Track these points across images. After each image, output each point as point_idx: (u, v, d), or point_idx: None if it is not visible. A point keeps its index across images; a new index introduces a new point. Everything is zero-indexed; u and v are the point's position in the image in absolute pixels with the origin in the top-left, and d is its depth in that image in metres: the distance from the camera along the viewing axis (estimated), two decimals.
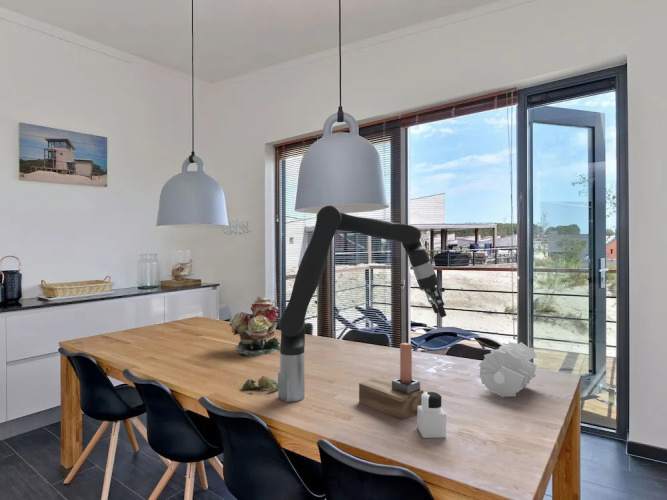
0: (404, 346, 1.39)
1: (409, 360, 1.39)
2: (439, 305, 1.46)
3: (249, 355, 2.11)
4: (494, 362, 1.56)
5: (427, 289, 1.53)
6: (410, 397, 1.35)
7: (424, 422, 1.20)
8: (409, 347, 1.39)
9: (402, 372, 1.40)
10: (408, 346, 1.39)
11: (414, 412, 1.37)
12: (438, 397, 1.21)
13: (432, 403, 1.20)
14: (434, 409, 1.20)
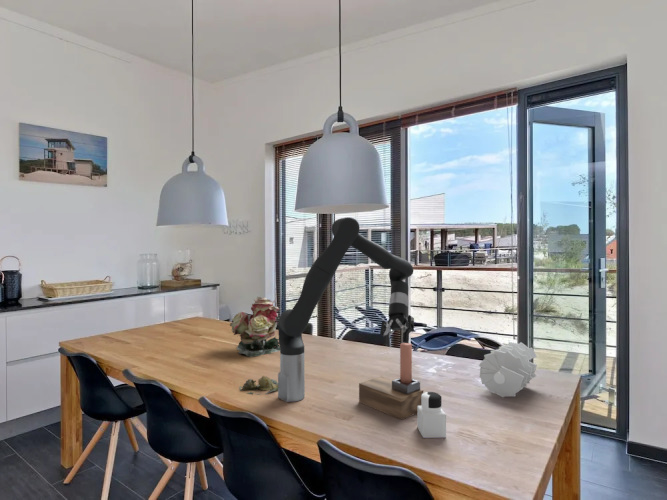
0: (404, 346, 1.39)
1: (409, 360, 1.39)
2: (411, 328, 1.50)
3: (249, 355, 2.11)
4: (494, 362, 1.56)
5: (394, 317, 1.58)
6: (410, 397, 1.35)
7: (424, 422, 1.20)
8: (409, 347, 1.39)
9: (402, 372, 1.40)
10: (408, 346, 1.39)
11: (414, 412, 1.37)
12: (438, 397, 1.21)
13: (432, 403, 1.20)
14: (434, 409, 1.20)
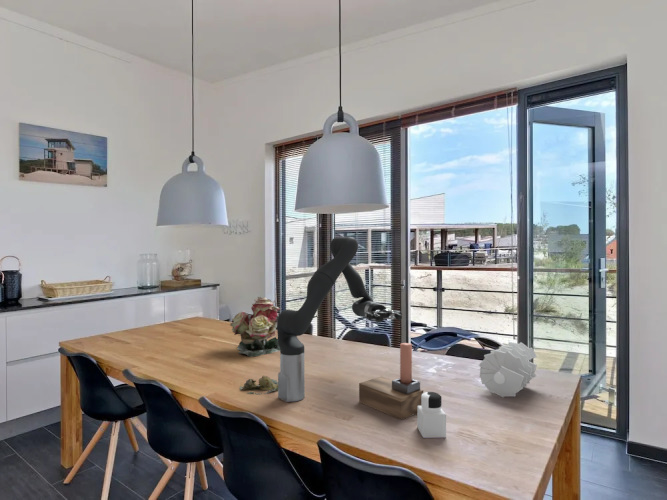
0: (404, 346, 1.39)
1: (409, 360, 1.39)
2: None
3: (250, 355, 2.11)
4: (494, 362, 1.56)
5: None
6: (410, 397, 1.35)
7: (424, 422, 1.20)
8: (409, 347, 1.39)
9: (402, 372, 1.40)
10: (408, 346, 1.39)
11: (414, 412, 1.37)
12: (438, 397, 1.21)
13: (432, 403, 1.20)
14: (434, 409, 1.20)
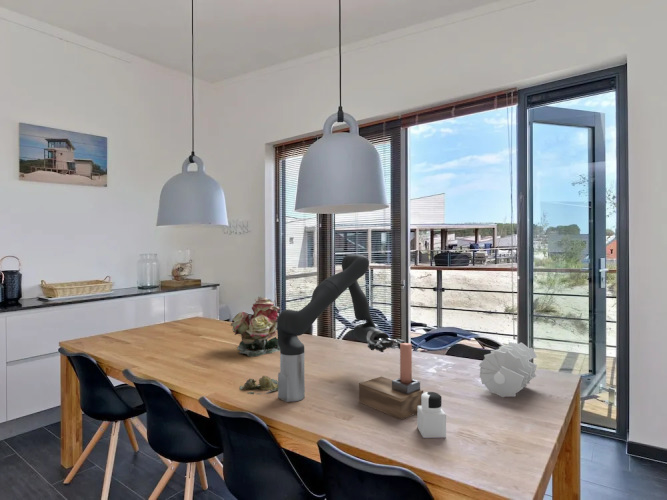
0: (404, 346, 1.39)
1: (409, 360, 1.39)
2: None
3: (250, 355, 2.11)
4: (494, 362, 1.56)
5: None
6: (410, 397, 1.35)
7: (424, 422, 1.20)
8: (409, 347, 1.39)
9: (402, 372, 1.40)
10: (408, 346, 1.39)
11: (414, 412, 1.37)
12: (438, 397, 1.21)
13: (432, 403, 1.20)
14: (434, 409, 1.20)
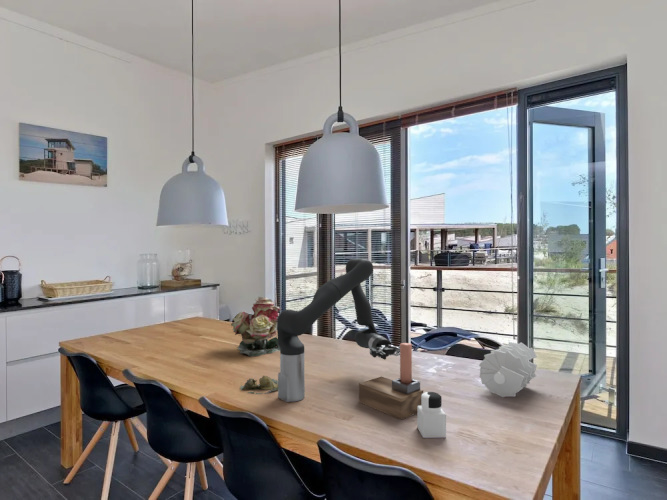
0: (404, 346, 1.39)
1: (409, 360, 1.39)
2: None
3: (251, 355, 2.12)
4: (494, 362, 1.56)
5: None
6: (410, 397, 1.35)
7: (424, 422, 1.20)
8: (409, 347, 1.39)
9: (402, 372, 1.40)
10: (408, 346, 1.39)
11: (414, 412, 1.37)
12: (438, 397, 1.21)
13: (432, 403, 1.20)
14: (434, 409, 1.20)
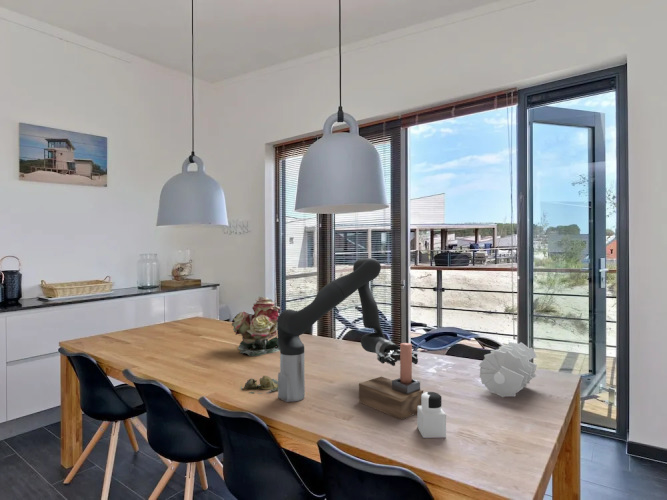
0: (404, 346, 1.39)
1: (409, 360, 1.39)
2: None
3: (251, 355, 2.12)
4: (494, 362, 1.56)
5: None
6: (410, 397, 1.35)
7: (424, 422, 1.20)
8: (409, 347, 1.39)
9: (402, 372, 1.40)
10: (408, 346, 1.39)
11: (414, 412, 1.37)
12: (438, 397, 1.21)
13: (432, 403, 1.20)
14: (434, 409, 1.20)
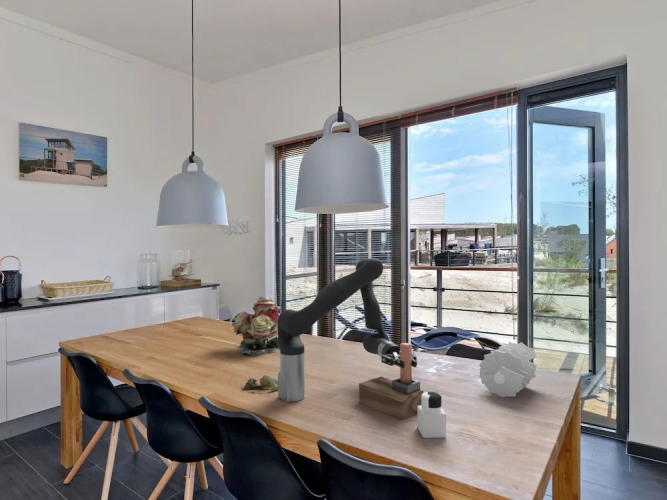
0: (404, 346, 1.39)
1: (409, 360, 1.39)
2: (416, 358, 1.44)
3: (252, 354, 2.12)
4: (494, 362, 1.56)
5: None
6: (410, 397, 1.35)
7: (424, 422, 1.20)
8: (409, 347, 1.39)
9: (402, 372, 1.40)
10: (408, 346, 1.39)
11: (414, 412, 1.37)
12: (438, 397, 1.21)
13: (432, 403, 1.20)
14: (434, 409, 1.20)
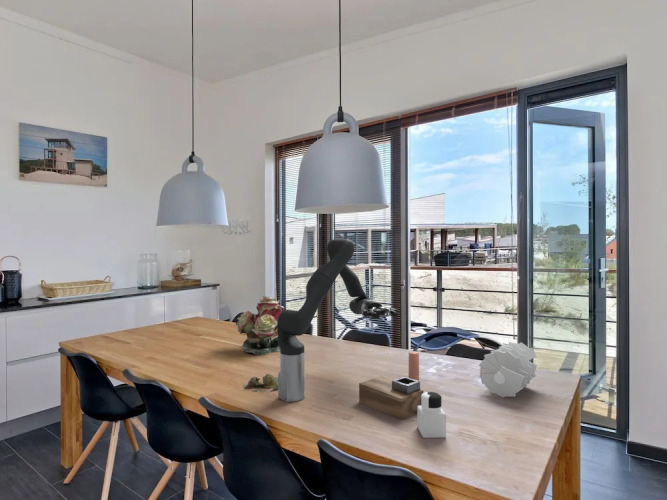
0: (412, 355, 1.54)
1: (417, 367, 1.54)
2: None
3: (256, 353, 2.14)
4: (494, 362, 1.56)
5: None
6: (410, 397, 1.35)
7: (424, 422, 1.20)
8: (417, 356, 1.54)
9: None
10: (416, 355, 1.54)
11: (414, 412, 1.37)
12: (438, 397, 1.21)
13: (432, 403, 1.20)
14: (434, 409, 1.20)
